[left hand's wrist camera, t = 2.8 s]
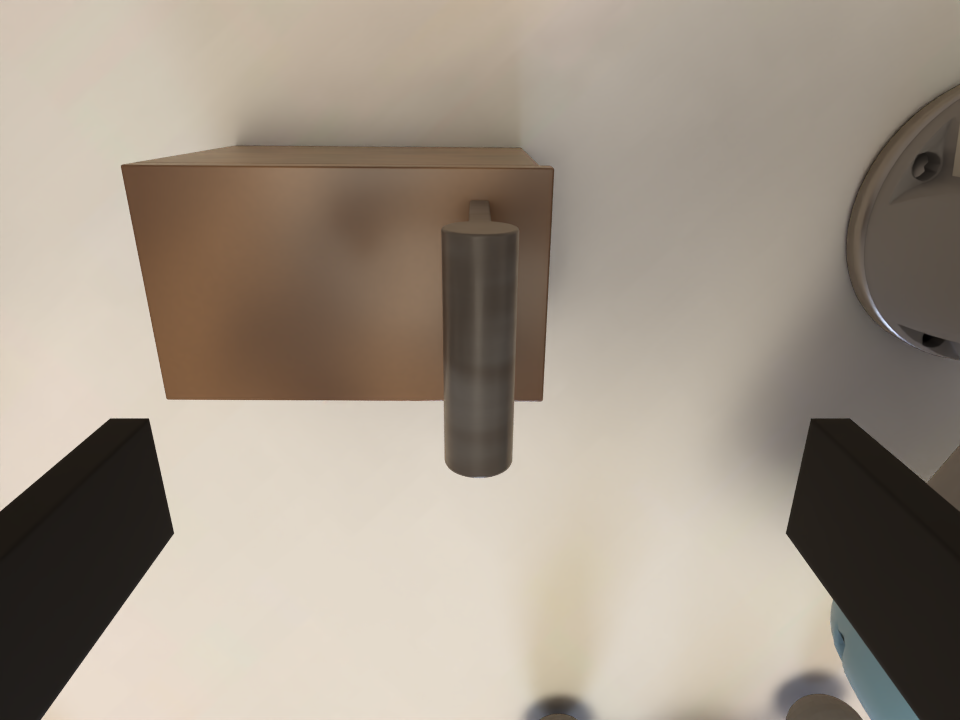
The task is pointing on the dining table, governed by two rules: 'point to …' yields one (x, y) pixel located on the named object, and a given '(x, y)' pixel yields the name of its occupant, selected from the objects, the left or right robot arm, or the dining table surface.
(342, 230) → the lid
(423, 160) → the chest
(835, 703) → the molecular model
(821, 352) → the dining table surface
